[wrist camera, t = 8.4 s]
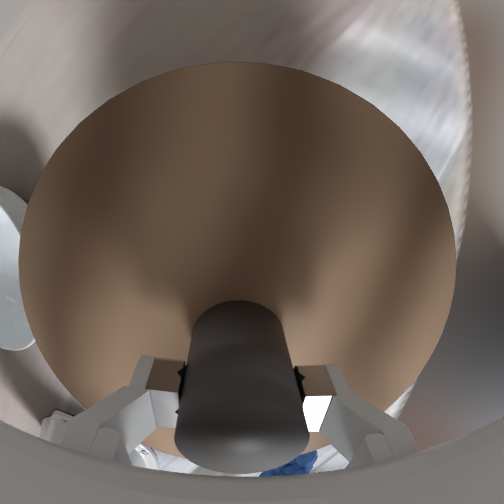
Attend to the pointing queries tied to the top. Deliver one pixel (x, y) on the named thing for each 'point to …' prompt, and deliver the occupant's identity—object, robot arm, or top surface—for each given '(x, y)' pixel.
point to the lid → (237, 254)
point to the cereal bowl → (12, 274)
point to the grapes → (294, 466)
